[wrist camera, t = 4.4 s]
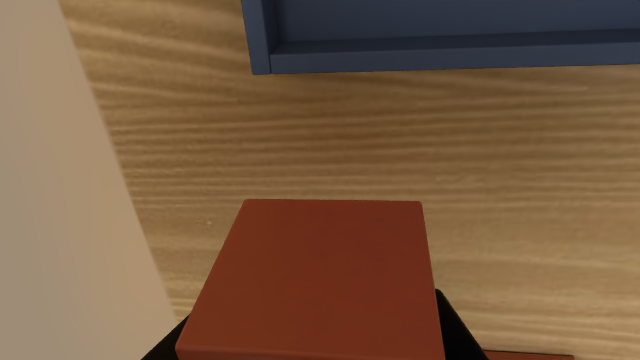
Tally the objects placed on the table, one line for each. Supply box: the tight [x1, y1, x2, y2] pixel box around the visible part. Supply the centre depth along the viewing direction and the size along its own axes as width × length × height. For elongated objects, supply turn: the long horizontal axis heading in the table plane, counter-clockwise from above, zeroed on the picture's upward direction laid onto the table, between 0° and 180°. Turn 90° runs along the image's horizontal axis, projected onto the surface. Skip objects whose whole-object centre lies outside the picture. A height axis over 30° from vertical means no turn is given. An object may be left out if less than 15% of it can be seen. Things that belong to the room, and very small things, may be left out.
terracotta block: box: [175, 199, 445, 360], centre depth 9 cm, size 4×4×4 cm
